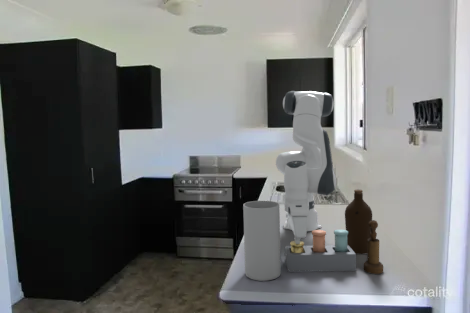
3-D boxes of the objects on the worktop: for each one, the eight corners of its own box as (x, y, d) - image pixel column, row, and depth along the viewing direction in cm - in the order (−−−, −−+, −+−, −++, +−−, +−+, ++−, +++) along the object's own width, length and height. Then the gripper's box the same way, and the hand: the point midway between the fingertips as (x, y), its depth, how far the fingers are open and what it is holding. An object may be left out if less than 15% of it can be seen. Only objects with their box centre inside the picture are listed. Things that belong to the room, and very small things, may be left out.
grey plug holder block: (285, 261, 141) (284, 246, 141) (348, 260, 140) (348, 245, 140) (288, 271, 131) (287, 255, 131) (356, 270, 130) (356, 254, 130)
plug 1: (289, 261, 139) (289, 240, 138) (303, 260, 138) (302, 240, 138) (291, 266, 134) (291, 245, 133) (305, 265, 133) (304, 244, 133)
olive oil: (377, 254, 146) (377, 191, 144) (351, 255, 145) (351, 193, 143) (365, 245, 157) (365, 187, 155) (340, 246, 156) (340, 188, 154)
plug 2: (311, 250, 138) (310, 230, 137) (324, 250, 138) (324, 229, 137) (313, 255, 133) (313, 234, 132) (327, 254, 133) (327, 233, 132)
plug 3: (332, 250, 138) (332, 229, 137) (346, 249, 137) (346, 229, 137) (335, 254, 133) (335, 233, 132) (349, 254, 132) (349, 233, 132)
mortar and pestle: (386, 269, 130) (386, 220, 129) (379, 275, 125) (379, 224, 124) (367, 265, 135) (367, 217, 133) (360, 271, 130) (360, 221, 128)
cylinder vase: (260, 264, 138) (259, 199, 136) (287, 273, 130) (286, 203, 128) (237, 275, 130) (235, 205, 127) (265, 285, 121) (263, 210, 119)
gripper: (285, 200, 145) (285, 234, 146) (291, 212, 124) (291, 252, 125) (301, 199, 144) (301, 234, 145) (309, 212, 124) (310, 252, 125)
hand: (297, 242), depth 135 cm, fingers closed, pressing on plug 1
